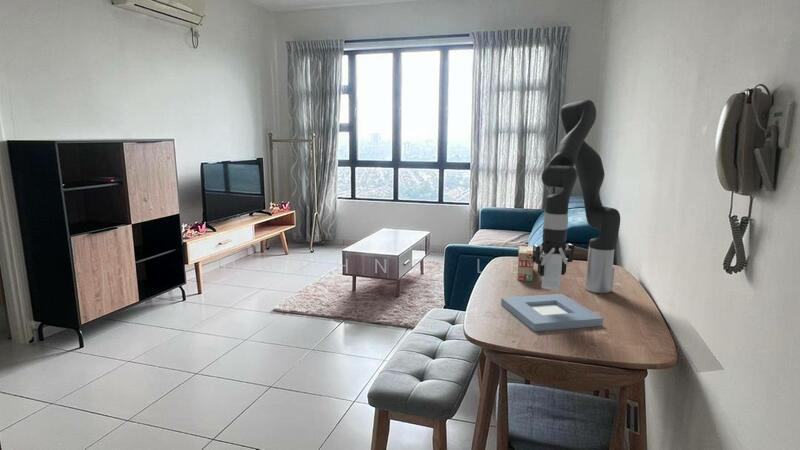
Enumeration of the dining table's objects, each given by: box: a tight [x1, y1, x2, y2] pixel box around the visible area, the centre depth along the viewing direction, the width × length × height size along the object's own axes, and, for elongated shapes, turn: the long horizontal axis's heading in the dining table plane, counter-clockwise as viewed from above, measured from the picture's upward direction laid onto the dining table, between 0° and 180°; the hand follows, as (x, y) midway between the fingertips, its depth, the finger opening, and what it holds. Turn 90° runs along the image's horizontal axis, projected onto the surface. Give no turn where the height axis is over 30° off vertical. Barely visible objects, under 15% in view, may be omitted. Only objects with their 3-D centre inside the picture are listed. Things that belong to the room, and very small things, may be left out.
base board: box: [500, 293, 604, 332], centre depth 157 cm, size 24×24×2 cm
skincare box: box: [541, 253, 563, 291], centre depth 154 cm, size 6×4×12 cm
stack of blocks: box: [516, 245, 535, 282], centre depth 203 cm, size 21×6×12 cm, turn 166°
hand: (551, 274), depth 154 cm, fingers closed on skincare box, 7 cm apart
